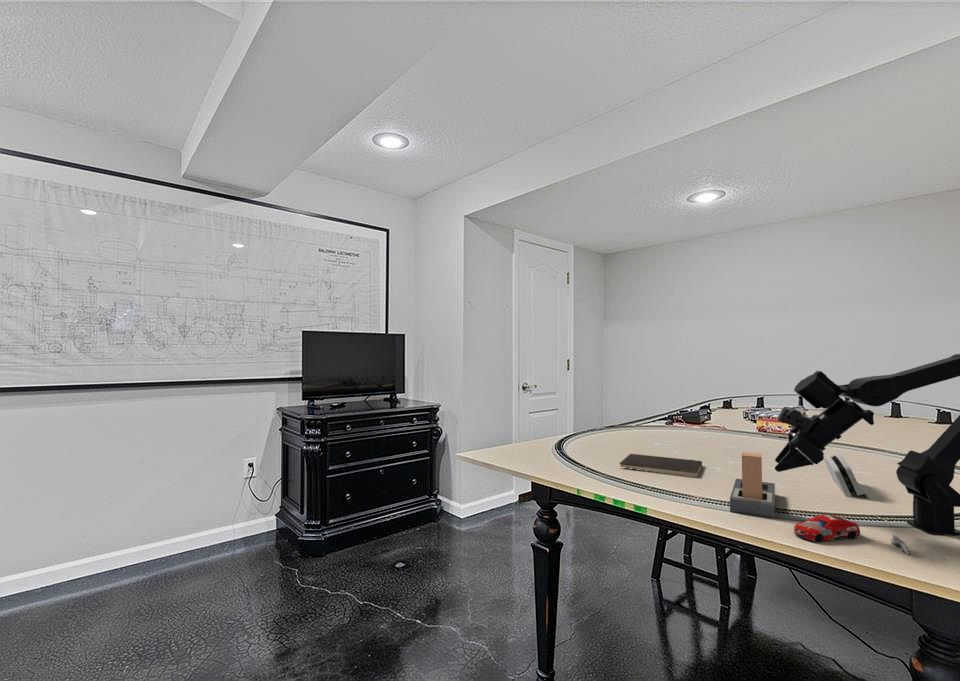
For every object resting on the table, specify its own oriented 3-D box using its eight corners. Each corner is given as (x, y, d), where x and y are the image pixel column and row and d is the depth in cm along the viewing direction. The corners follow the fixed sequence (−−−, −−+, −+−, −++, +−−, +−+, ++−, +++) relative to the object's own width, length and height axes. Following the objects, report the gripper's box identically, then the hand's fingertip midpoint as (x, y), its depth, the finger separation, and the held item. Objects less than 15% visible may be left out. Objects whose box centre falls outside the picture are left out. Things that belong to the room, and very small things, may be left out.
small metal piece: (921, 559, 86) (920, 543, 86) (905, 557, 87) (905, 542, 87) (904, 545, 92) (904, 530, 92) (890, 544, 92) (889, 529, 92)
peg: (762, 512, 110) (760, 457, 110) (742, 509, 112) (741, 455, 112) (762, 507, 113) (761, 453, 114) (743, 504, 116) (742, 452, 116)
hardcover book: (696, 479, 139) (696, 472, 139) (619, 470, 151) (619, 463, 151) (702, 467, 153) (702, 460, 153) (630, 459, 165) (630, 453, 165)
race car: (809, 545, 92) (808, 525, 92) (787, 534, 98) (787, 515, 98) (866, 540, 94) (866, 520, 94) (842, 529, 100) (841, 511, 100)
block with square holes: (774, 518, 106) (774, 504, 106) (730, 511, 111) (729, 497, 111) (775, 494, 123) (774, 482, 123) (736, 489, 128) (736, 477, 128)
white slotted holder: (870, 499, 118) (853, 461, 120) (849, 503, 120) (832, 465, 122) (854, 482, 133) (839, 448, 135) (835, 486, 135) (820, 452, 137)
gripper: (799, 392, 116) (749, 433, 121) (802, 400, 100) (745, 446, 106) (840, 426, 111) (786, 467, 117) (850, 440, 96) (788, 486, 101)
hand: (776, 465), depth 110 cm, fingers open, 9 cm apart
